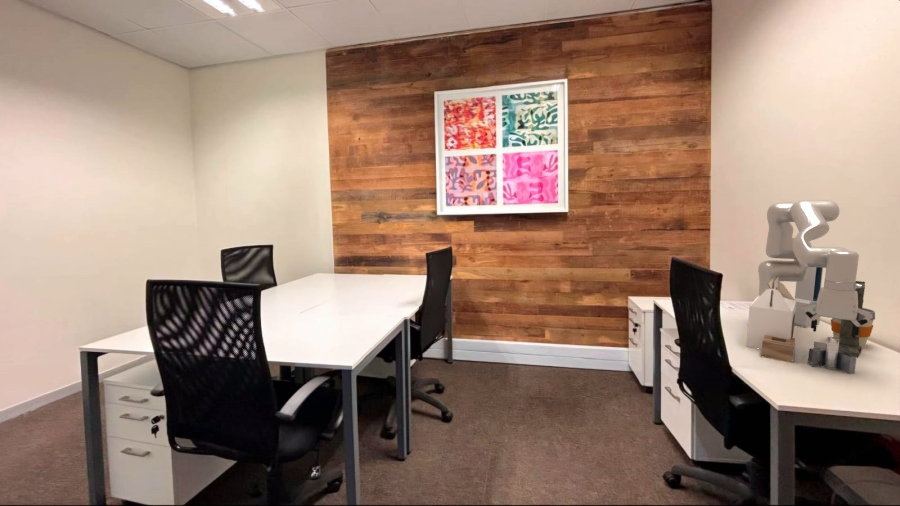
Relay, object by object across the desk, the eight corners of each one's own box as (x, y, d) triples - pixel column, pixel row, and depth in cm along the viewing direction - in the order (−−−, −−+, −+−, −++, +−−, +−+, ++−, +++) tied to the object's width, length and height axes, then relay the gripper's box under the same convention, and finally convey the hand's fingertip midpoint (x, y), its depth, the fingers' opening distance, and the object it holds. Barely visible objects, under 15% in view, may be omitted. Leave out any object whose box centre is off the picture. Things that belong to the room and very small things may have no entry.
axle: (824, 365, 139) (827, 336, 137) (835, 367, 137) (839, 338, 135) (824, 368, 137) (827, 338, 135) (836, 370, 135) (839, 340, 133)
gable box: (753, 334, 174) (758, 273, 171) (792, 340, 165) (798, 276, 161) (746, 347, 158) (751, 280, 155) (788, 355, 149) (795, 284, 146)
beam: (763, 347, 157) (765, 333, 156) (793, 353, 151) (794, 338, 150) (761, 356, 148) (762, 341, 147) (792, 362, 142) (794, 346, 141)
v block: (807, 355, 148) (809, 340, 147) (851, 363, 140) (853, 348, 139) (807, 365, 139) (809, 349, 138) (854, 374, 131) (856, 357, 130)
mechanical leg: (835, 341, 160) (842, 274, 151) (860, 345, 155) (869, 277, 146) (833, 358, 151) (841, 288, 142) (860, 363, 146) (870, 291, 137)
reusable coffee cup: (832, 337, 167) (835, 303, 165) (874, 345, 157) (879, 309, 155) (823, 343, 160) (827, 308, 158) (867, 352, 150) (872, 315, 148)
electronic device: (806, 328, 179) (812, 264, 176) (786, 323, 186) (792, 262, 183) (820, 324, 184) (826, 262, 181) (801, 320, 191) (807, 260, 187)
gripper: (874, 287, 130) (868, 336, 132) (805, 280, 142) (800, 325, 144) (877, 291, 125) (870, 342, 127) (805, 284, 136) (799, 331, 139)
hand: (833, 333), depth 135 cm, fingers open, 9 cm apart
